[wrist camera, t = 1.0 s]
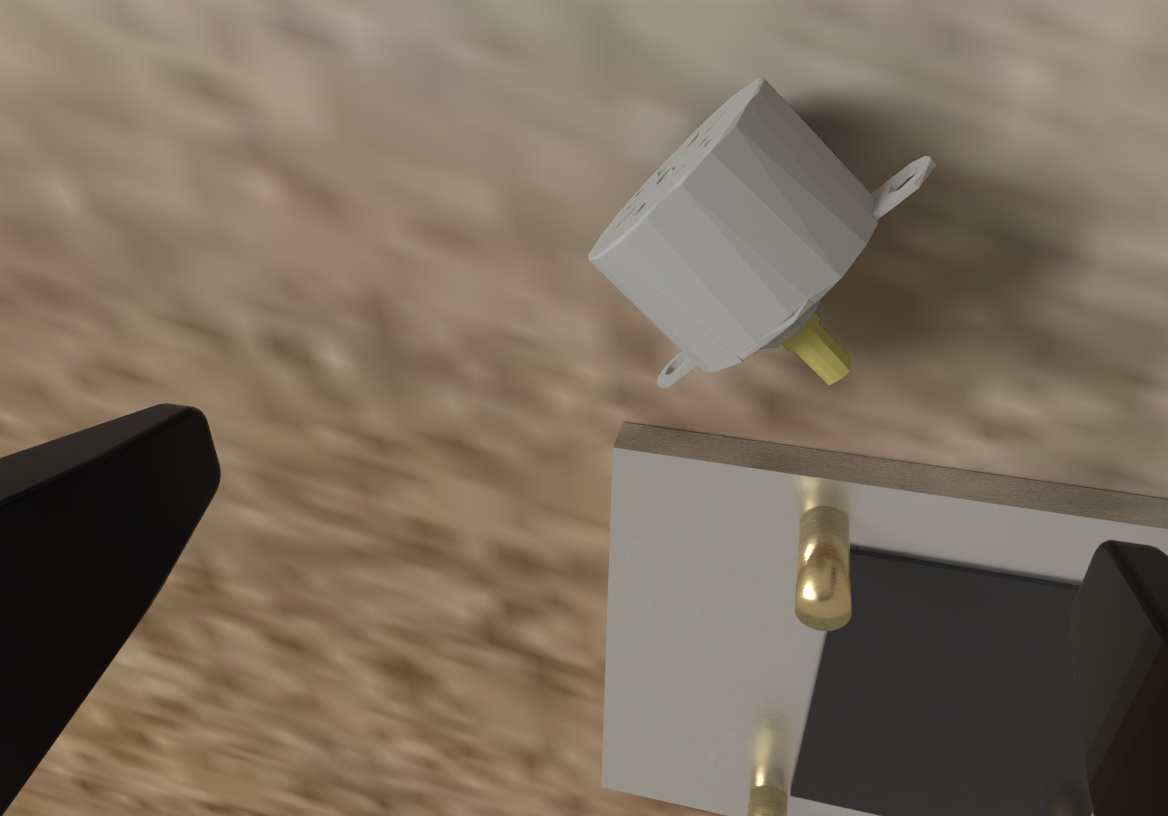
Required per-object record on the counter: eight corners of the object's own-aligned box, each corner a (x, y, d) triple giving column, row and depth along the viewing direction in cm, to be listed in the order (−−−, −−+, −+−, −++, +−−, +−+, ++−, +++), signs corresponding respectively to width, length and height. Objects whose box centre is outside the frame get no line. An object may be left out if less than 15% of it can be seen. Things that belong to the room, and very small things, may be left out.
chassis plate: (1521, 549, 19) (1674, 703, 15) (1250, 897, 26) (1313, 1053, 23) (622, 422, 23) (584, 522, 19) (609, 756, 30) (580, 872, 27)
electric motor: (726, 373, 21) (700, 495, 17) (585, 237, 20) (522, 332, 16) (974, 181, 18) (1016, 279, 14) (817, 4, 17) (812, 52, 13)
